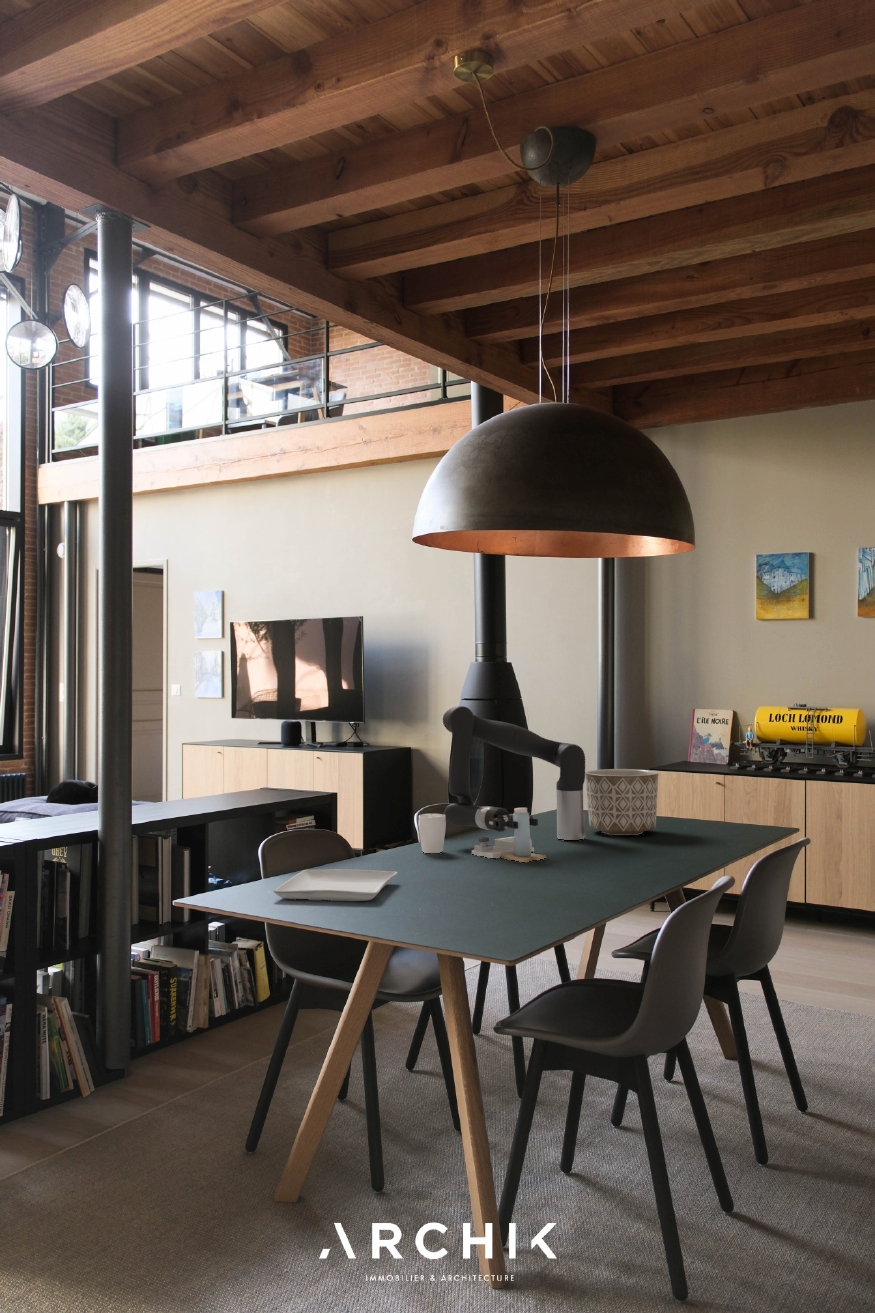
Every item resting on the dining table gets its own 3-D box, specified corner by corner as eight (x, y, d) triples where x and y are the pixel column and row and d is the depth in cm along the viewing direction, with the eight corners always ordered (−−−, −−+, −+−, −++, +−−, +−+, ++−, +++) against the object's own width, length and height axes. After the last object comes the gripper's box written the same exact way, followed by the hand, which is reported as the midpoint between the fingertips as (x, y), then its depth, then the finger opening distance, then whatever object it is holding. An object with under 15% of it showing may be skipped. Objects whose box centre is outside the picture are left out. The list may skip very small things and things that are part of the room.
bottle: (523, 853, 312) (520, 807, 312) (534, 854, 308) (531, 807, 308) (511, 855, 308) (509, 808, 309) (522, 856, 305) (520, 809, 305)
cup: (444, 855, 316) (443, 817, 316) (416, 854, 317) (415, 817, 317) (448, 850, 325) (447, 813, 325) (421, 849, 326) (420, 813, 326)
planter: (595, 839, 343) (594, 776, 344) (579, 828, 369) (578, 769, 369) (669, 837, 345) (668, 775, 346) (647, 827, 371) (646, 768, 372)
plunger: (484, 849, 317) (484, 836, 317) (491, 850, 315) (491, 838, 315) (476, 850, 315) (476, 838, 315) (483, 851, 313) (483, 839, 313)
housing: (512, 848, 327) (512, 836, 327) (534, 852, 319) (533, 839, 319) (471, 854, 316) (471, 842, 316) (492, 859, 308) (492, 846, 308)
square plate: (303, 881, 278) (303, 868, 278) (398, 884, 274) (398, 870, 274) (272, 903, 251) (272, 888, 251) (377, 906, 247) (377, 890, 247)
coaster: (523, 854, 315) (523, 851, 315) (546, 858, 307) (546, 855, 307) (500, 858, 309) (500, 855, 309) (523, 862, 301) (523, 859, 301)
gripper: (475, 808, 315) (510, 813, 302) (508, 805, 324) (543, 809, 311) (475, 832, 315) (510, 838, 302) (508, 827, 324) (543, 833, 311)
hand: (527, 823), depth 307 cm, fingers open, 8 cm apart
